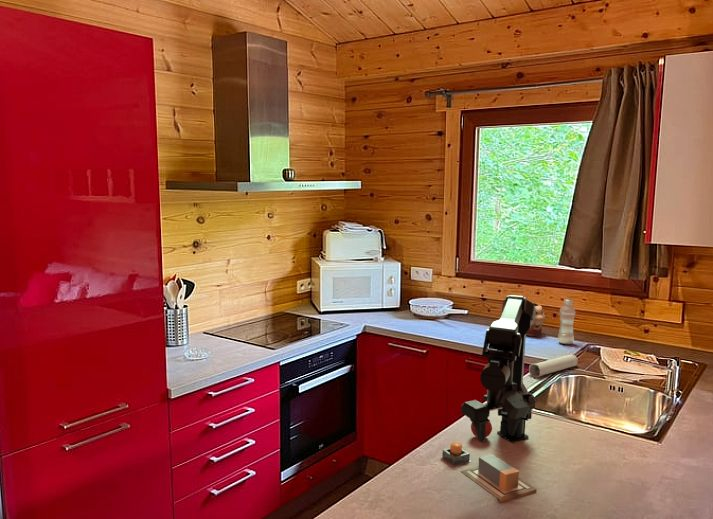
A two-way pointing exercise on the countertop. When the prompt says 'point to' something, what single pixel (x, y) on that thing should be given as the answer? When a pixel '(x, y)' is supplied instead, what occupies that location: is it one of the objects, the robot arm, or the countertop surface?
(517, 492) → the picture frame
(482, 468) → the grey orange block
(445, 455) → the button collar
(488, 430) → the onion
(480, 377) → the robot arm
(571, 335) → the plastic bottle
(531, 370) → the tube
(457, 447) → the button
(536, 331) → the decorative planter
